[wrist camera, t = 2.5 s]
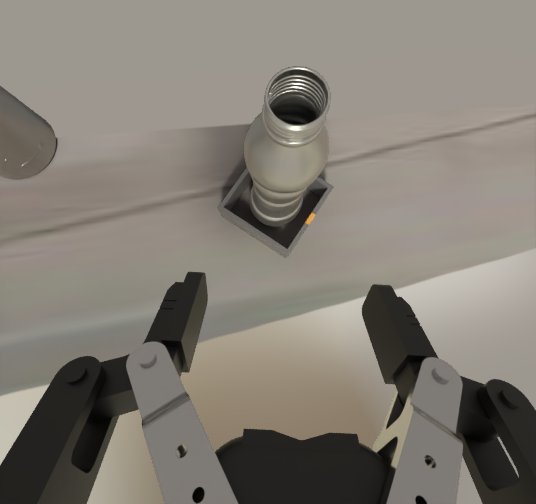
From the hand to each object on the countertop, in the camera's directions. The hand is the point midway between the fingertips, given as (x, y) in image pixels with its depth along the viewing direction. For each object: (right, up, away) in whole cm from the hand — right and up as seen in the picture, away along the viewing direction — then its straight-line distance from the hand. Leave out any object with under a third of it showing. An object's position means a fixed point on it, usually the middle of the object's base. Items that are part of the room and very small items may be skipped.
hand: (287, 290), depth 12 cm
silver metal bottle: (0, +8, +21) cm, 23 cm away
